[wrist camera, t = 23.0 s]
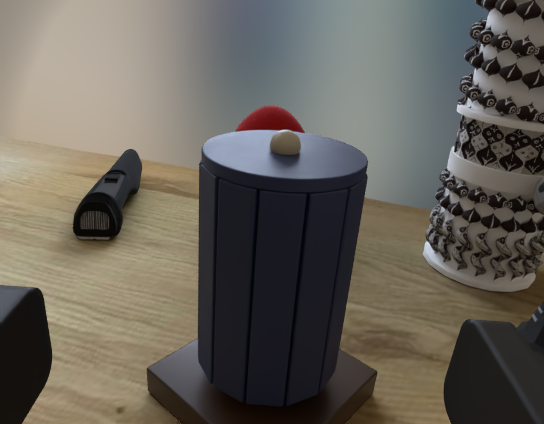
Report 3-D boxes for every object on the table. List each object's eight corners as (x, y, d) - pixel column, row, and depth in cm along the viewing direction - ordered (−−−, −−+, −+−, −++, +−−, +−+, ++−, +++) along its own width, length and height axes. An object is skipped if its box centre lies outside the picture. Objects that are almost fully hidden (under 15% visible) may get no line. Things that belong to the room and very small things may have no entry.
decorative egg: (269, 244, 37) (278, 122, 33) (201, 212, 42) (203, 102, 38) (326, 216, 43) (340, 110, 39) (261, 191, 48) (268, 93, 44)
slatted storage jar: (233, 427, 18) (246, 163, 13) (181, 330, 23) (178, 114, 19) (362, 378, 21) (408, 147, 16) (291, 301, 26) (311, 109, 21)
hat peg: (268, 504, 18) (297, 225, 13) (146, 391, 22) (134, 154, 18) (373, 393, 23) (421, 169, 18) (259, 321, 28) (273, 127, 23)
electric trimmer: (151, 176, 50) (150, 147, 49) (119, 240, 36) (116, 203, 35) (115, 174, 50) (113, 146, 48) (69, 239, 36) (65, 201, 34)
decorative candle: (536, 311, 31) (704, -138, 21) (403, 266, 35) (489, -125, 25) (545, 259, 38) (673, -95, 28) (433, 226, 43) (510, -90, 32)
